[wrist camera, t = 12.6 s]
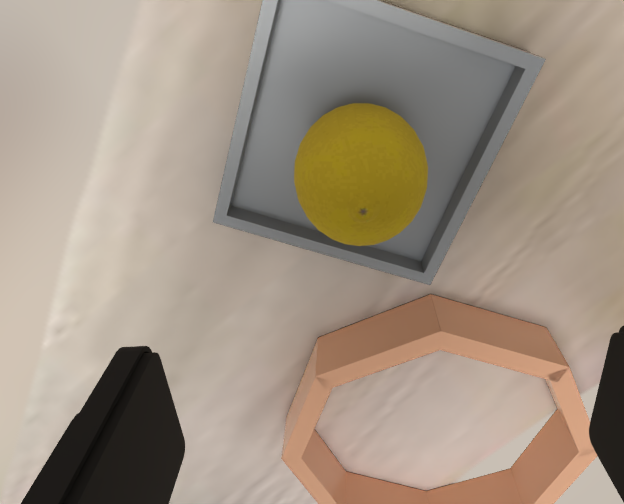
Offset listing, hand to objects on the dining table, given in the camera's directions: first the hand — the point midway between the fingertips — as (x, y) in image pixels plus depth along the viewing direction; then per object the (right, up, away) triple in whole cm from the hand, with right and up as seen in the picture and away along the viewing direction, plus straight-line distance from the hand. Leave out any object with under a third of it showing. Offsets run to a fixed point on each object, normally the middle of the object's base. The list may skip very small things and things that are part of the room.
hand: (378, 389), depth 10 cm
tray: (+1, +9, +15) cm, 17 cm away
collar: (+7, -8, +24) cm, 26 cm away
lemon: (+1, +8, +14) cm, 16 cm away
